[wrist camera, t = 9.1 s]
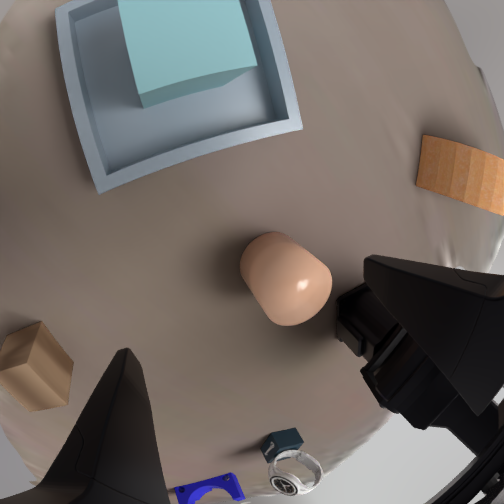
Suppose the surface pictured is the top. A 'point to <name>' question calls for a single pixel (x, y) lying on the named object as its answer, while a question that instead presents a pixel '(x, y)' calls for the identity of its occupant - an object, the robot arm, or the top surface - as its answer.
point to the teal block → (184, 46)
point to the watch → (283, 448)
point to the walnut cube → (35, 368)
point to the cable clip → (209, 488)
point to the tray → (170, 112)
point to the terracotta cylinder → (285, 278)
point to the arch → (462, 173)
